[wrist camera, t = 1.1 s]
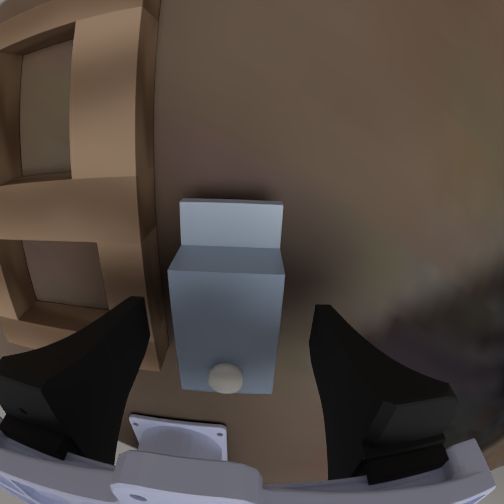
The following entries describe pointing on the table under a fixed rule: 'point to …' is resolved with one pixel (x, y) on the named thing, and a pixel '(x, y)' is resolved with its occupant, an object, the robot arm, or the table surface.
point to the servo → (227, 294)
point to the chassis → (85, 167)
